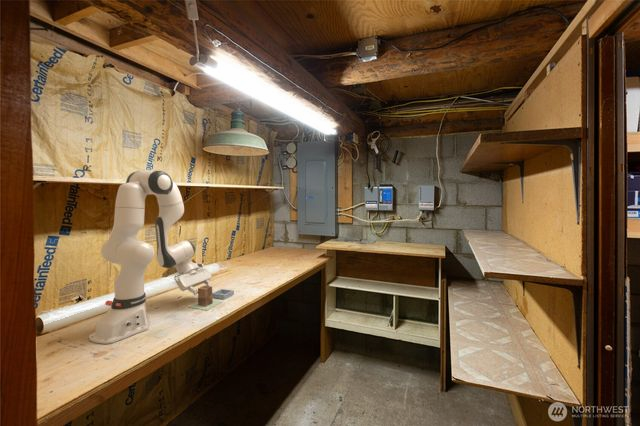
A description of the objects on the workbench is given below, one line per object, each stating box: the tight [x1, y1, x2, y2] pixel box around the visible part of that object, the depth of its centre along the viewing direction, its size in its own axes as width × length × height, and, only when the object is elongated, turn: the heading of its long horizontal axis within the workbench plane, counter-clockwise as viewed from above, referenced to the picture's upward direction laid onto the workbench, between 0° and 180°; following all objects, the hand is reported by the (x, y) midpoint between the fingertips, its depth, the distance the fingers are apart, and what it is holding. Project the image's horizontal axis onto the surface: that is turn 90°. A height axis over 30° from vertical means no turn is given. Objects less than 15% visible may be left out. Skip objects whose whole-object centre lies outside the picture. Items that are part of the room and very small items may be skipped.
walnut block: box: [197, 285, 214, 307], centre depth 159 cm, size 5×5×9 cm
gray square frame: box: [212, 288, 235, 301], centre depth 173 cm, size 9×9×2 cm
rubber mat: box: [188, 299, 223, 312], centre depth 160 cm, size 12×12×1 cm
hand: (203, 291), depth 159 cm, fingers open, 8 cm apart
